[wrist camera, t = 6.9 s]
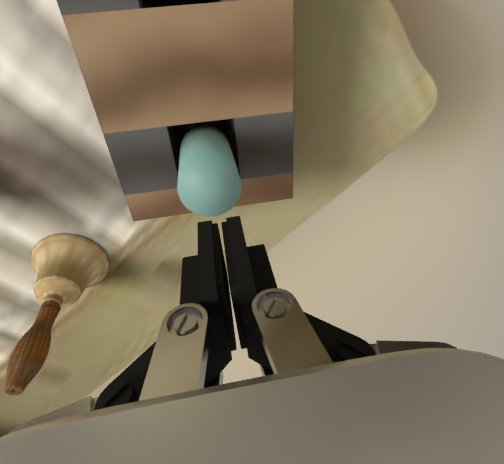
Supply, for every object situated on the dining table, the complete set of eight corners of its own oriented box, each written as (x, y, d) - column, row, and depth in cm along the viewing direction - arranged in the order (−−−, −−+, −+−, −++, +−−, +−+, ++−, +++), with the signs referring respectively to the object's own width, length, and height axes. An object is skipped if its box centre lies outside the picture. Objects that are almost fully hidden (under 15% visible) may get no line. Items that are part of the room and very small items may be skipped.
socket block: (54, -123, 20) (-9, -188, 14) (263, -133, 22) (294, -197, 15) (144, 181, 33) (133, 221, 27) (273, 163, 34) (292, 198, 28)
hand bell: (97, 229, 35) (44, 350, 23) (117, 282, 40) (82, 407, 27) (19, 237, 34) (-84, 370, 22) (49, 290, 39) (-21, 425, 26)
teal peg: (175, 128, 24) (170, 163, 18) (227, 122, 24) (238, 154, 19) (185, 176, 26) (184, 220, 20) (232, 169, 27) (244, 211, 21)
